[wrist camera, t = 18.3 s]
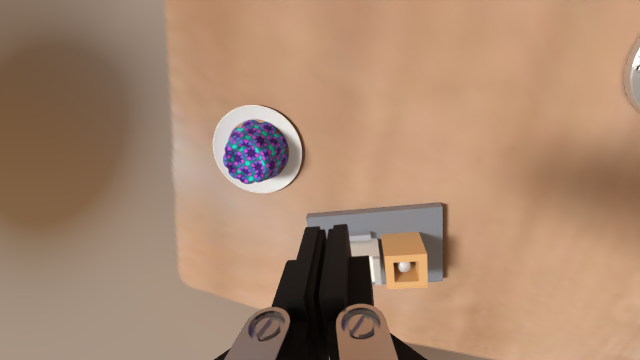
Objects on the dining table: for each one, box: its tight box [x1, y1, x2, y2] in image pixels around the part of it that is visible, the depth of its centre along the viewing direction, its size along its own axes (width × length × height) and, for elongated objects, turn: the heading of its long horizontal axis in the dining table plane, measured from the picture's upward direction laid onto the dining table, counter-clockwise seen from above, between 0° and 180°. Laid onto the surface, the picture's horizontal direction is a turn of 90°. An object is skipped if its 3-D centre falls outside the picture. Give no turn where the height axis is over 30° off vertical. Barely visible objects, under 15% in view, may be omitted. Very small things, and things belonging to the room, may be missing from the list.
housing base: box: [306, 203, 443, 285], centre depth 41 cm, size 18×12×5 cm, turn 99°
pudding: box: [213, 105, 302, 193], centre depth 37 cm, size 12×12×5 cm
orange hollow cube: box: [381, 232, 428, 289], centre depth 39 cm, size 5×5×5 cm
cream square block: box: [350, 238, 382, 285], centre depth 40 cm, size 4×4×5 cm
